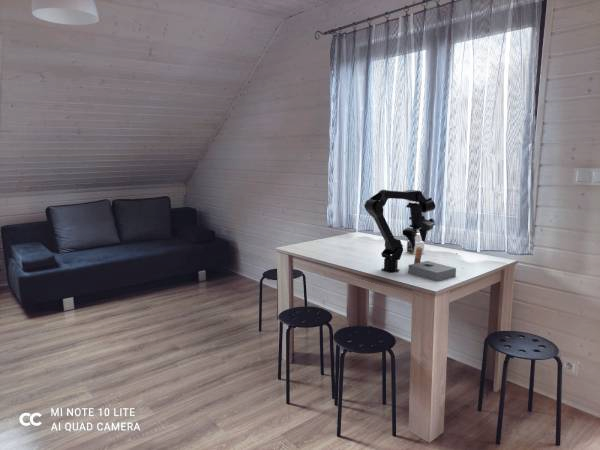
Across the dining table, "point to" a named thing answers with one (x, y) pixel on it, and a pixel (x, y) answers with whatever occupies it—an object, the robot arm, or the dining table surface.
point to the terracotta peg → (418, 255)
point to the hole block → (432, 270)
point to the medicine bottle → (417, 244)
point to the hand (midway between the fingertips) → (418, 244)
